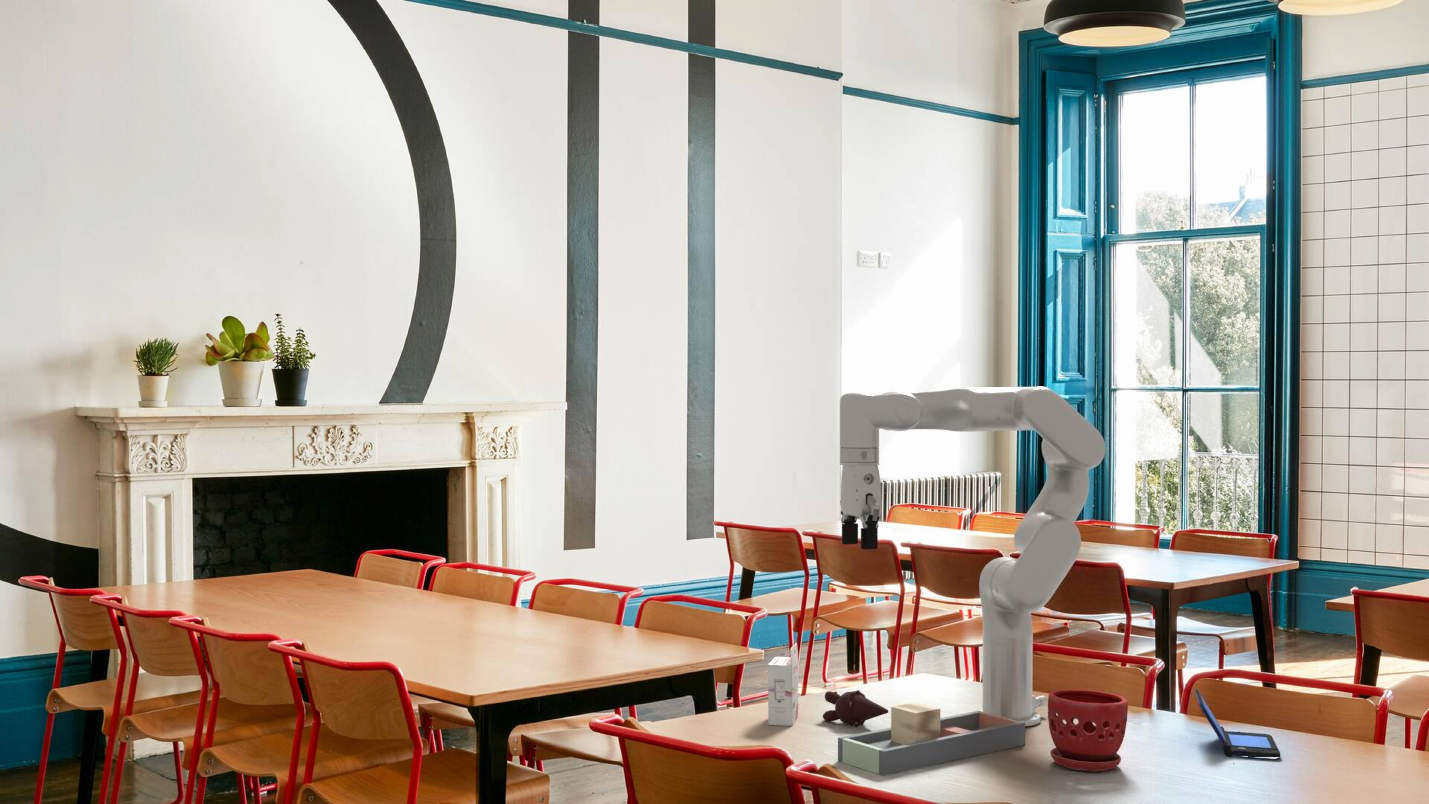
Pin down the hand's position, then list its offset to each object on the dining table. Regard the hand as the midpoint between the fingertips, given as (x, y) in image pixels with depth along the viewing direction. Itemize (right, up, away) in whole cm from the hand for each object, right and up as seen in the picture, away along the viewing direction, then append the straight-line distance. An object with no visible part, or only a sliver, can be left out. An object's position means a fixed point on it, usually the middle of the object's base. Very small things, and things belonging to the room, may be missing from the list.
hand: (859, 546), depth 255 cm
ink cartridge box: (-14, -35, +4) cm, 37 cm away
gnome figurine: (-1, -35, 0) cm, 35 cm away
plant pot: (+36, -35, -28) cm, 57 cm away
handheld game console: (+66, -35, -15) cm, 76 cm away
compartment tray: (+11, -34, -20) cm, 41 cm away
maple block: (+7, -32, -23) cm, 40 cm away
